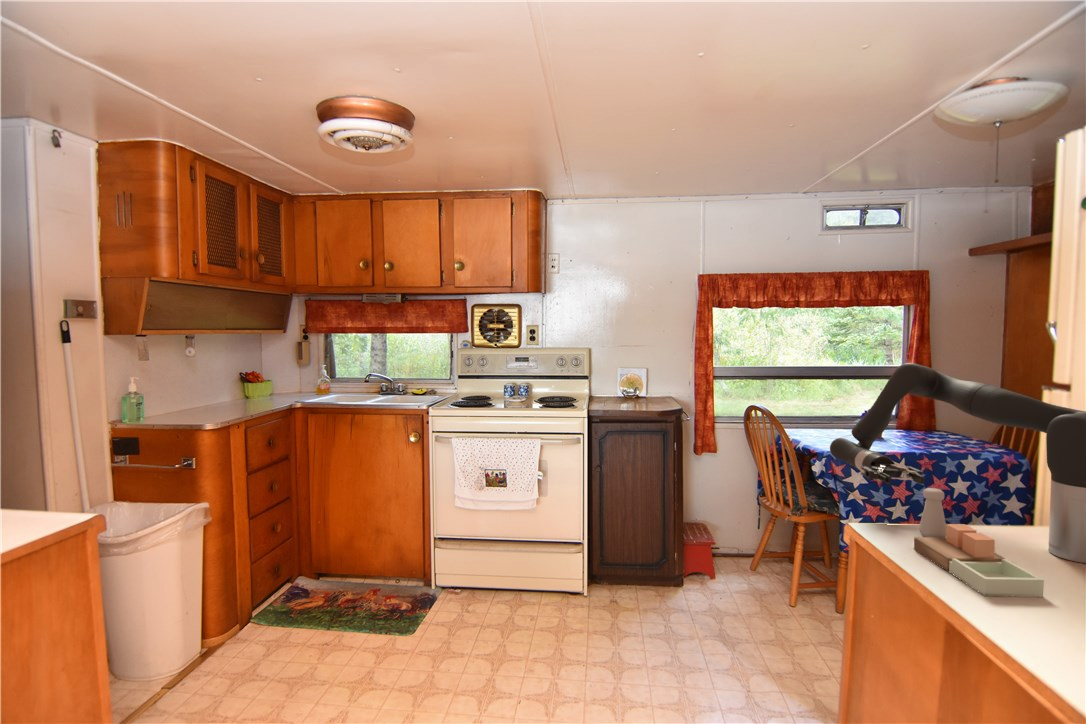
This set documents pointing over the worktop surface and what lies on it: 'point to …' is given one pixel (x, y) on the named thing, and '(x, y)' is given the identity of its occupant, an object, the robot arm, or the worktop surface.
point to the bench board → (946, 551)
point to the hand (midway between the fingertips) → (906, 480)
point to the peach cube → (978, 545)
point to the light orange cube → (957, 533)
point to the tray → (998, 578)
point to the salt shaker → (933, 514)
